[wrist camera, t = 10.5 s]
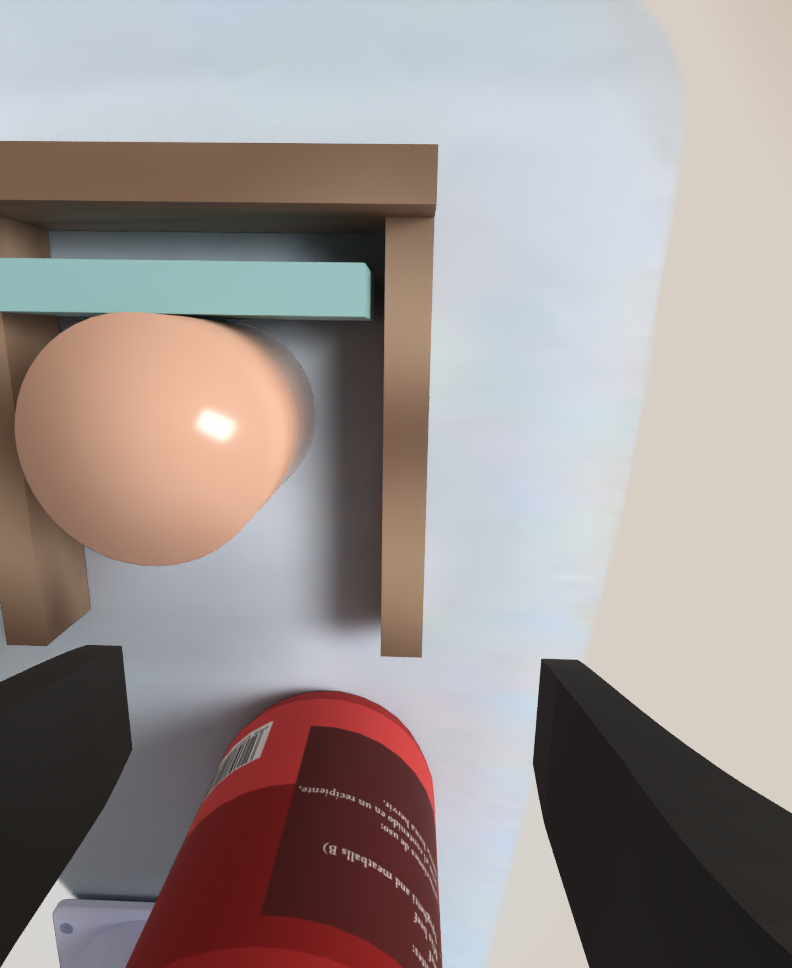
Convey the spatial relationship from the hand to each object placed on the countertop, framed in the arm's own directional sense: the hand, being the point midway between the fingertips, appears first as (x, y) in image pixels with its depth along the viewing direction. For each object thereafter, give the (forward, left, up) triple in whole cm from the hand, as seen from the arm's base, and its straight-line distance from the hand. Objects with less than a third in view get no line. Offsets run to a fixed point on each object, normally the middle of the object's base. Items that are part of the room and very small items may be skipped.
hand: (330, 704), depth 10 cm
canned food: (-9, +2, -10) cm, 14 cm away
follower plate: (+7, +5, -9) cm, 13 cm away
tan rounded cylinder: (+4, +5, -10) cm, 11 cm away
